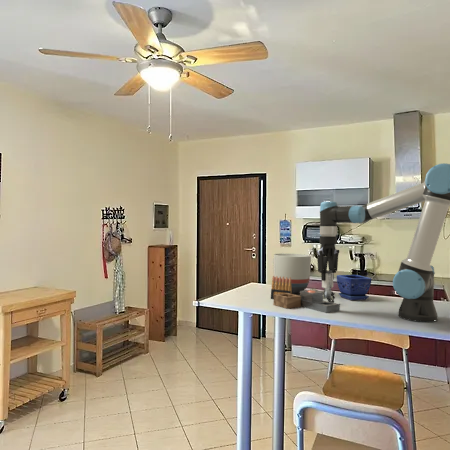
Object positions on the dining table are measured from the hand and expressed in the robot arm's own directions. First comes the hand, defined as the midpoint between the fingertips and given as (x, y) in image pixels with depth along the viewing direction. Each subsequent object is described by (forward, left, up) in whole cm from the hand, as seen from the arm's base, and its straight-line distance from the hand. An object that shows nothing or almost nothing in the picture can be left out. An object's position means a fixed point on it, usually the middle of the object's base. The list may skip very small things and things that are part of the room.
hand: (327, 287), depth 184 cm
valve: (+13, -10, -11) cm, 19 cm away
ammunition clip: (+28, +2, -11) cm, 30 cm away
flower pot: (+12, -35, -11) cm, 39 cm away
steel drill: (0, 0, -5) cm, 5 cm away
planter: (+39, -16, -11) cm, 44 cm away
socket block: (+5, 0, -10) cm, 12 cm away
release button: (+9, 0, -7) cm, 12 cm away
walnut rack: (+16, +10, -10) cm, 21 cm away
